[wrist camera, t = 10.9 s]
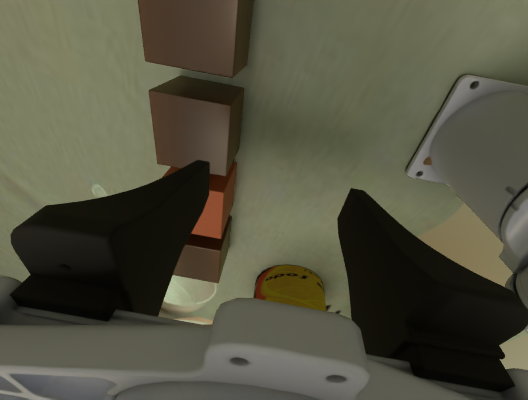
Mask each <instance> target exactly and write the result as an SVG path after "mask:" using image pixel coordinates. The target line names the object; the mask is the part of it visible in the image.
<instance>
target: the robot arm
mask: <svg viewBox="0 0 528 400" xmlns="http://www.w3.org/2000/svg"><path fill="white" fill-rule="evenodd" d="M474 81H475V82H476V83H475V85H474V86H473V87H471V88H470V84H471V83H472V82H474ZM429 156H430V158H431V161H432V165H424V164H423V162H424V160H425V159H426V158H427V157H429ZM419 171H421V172H420V173H419V174H416V173H417V172H419ZM406 174H407V175H408V177H411V178H416V179H421V180H427V181H432V182H437V183H443V184H448V186H449V187H450V188H451V189H452V190H453V191H454V192H455V193H456V194H457V195H458V196H459V197H460V198H461V199H462V200H463V201H464V202H465V203H466V205H467V206H468V207H469V208H470V209H471V210H472V211H473V212H474V213H475V214H476V215H477V216H478V217H479V218H480V219H481V220H482V221H483V222H484V223H485V224H486V226H487V227H488V228H489V229H490V230H491V231H492V232H493V233H494V234H495V235H496V236H497V237H498V238H499V239H500V240H501V241H502V242H503V244H504V247H503V251H502V253H501V254H500V255H499V257H500V259H501V260H502V261H503V262H504V263H505V264H506V265H507V267H508V268H509V269H510V270H511V271H512V272H513V273H514V274H512V275H511V276H510V278H509V279H508V280H507V282H506V284H505V287H503V286H501V285H499V284H497V283H495V282H493V281H491V280H488V279H486V278H484V277H482V276H480V275H478V274H476V273H474V272H472V271H470V270H468V269H467V268H465V267H463V266H461V265H459V264H457V263H455V262H454V261H452V260H450V259H449V258H447V257H446V256H444V255H442V254H441V253H439V252H437V251H436V250H434V249H433V248H431V247H430V246H428V245H427V244H425V243H424V242H423V241H421V240H420V239H418V238H417V237H416V236H414V235H413V234H412V233H410V232H409V231H408V230H407V229H405V228H404V227H403V226H402V225H401V224H400V223H398V222H397V221H396V220H395V219H394V218H393V217H392V216H390V215H389V214H388V213H387V212H386V211H385V210H384V209H383V208H382V207H381V206H380V205H379V204H378V203H377V202H376V201H375V200H374V199H373V198H371V197H370V196H369V195H368V194H367V193H366V192H365V191H363V190H359V189H353V188H351V189H350V192H349V194H348V196H347V198H346V201H345V203H344V205H343V207H342V210H341V212H340V214H339V216H338V234H339V240H340V245H341V249H342V254H343V258H344V262H345V267H346V271H347V277H348V283H349V293H350V304H351V317H352V320H351V319H350V318H347V317H345V316H342V315H339V314H336V313H333V312H327V311H322V310H316V309H311V308H305V307H300V306H294V305H288V304H283V303H277V302H272V301H266V300H261V299H255V298H236V299H233V300H230V301H227V302H224V303H222V304H221V305H220V307H219V308H218V310H217V311H216V313H215V317H214V321H213V324H212V325H201V324H195V323H189V322H184V321H178V320H173V319H167V318H162V317H158V315H159V312H160V309H161V306H162V303H163V300H164V297H165V294H166V292H167V289H168V286H169V283H170V281H171V278H172V275H173V273H174V270H175V267H176V265H177V262H178V260H179V258H180V255H181V253H182V250H183V248H184V246H185V244H186V242H187V240H188V238H189V236H190V235H191V233H192V231H193V229H194V227H195V225H196V224H197V222H198V220H199V218H200V216H201V214H202V212H203V210H204V208H205V205H206V203H207V200H208V197H209V181H210V162H208V161H202V160H196V161H194V162H192V163H190V164H188V165H187V166H185V167H183V168H181V169H179V170H177V171H175V172H173V173H172V174H169V175H167V176H165V177H163V178H161V179H159V180H157V181H154V182H152V183H149V184H147V185H144V186H141V187H139V188H136V189H133V190H129V191H126V192H122V193H118V194H115V195H111V196H106V197H102V198H97V199H91V200H86V201H79V202H72V203H64V204H56V205H46V206H45V207H43V208H42V209H41V210H39V211H38V212H37V213H35V214H34V215H33V216H31V217H30V218H28V219H27V220H26V221H24V222H23V223H22V224H20V225H19V226H18V227H16V228H15V229H14V230H13V231H12V233H11V244H12V246H13V248H14V250H15V252H16V253H17V255H18V256H19V258H20V259H21V261H22V262H23V264H24V265H25V267H26V268H27V270H28V271H29V273H30V274H31V275H30V276H29V277H28V278H27V279H26V280H25V281H24V282H23V283H22V282H20V281H19V280H17V279H14V278H11V277H7V276H1V275H0V400H528V370H523V369H514V368H513V369H505V368H504V366H503V364H502V363H501V361H500V359H503V358H505V354H504V353H503V352H502V350H501V348H500V346H499V345H500V344H502V343H504V342H505V341H507V340H509V339H510V338H512V337H513V336H515V335H517V334H518V333H520V332H521V331H522V330H524V329H525V330H526V331H527V332H528V86H526V85H520V84H515V83H510V82H505V81H500V80H494V79H489V78H484V77H479V76H473V75H464V76H462V77H461V78H459V80H458V81H457V82H456V84H455V86H454V88H453V89H452V91H451V93H450V95H449V96H448V98H447V100H446V102H445V103H444V105H443V107H442V109H441V110H440V112H439V114H438V116H437V117H436V119H435V121H434V122H433V124H432V126H431V128H430V129H429V131H428V133H427V135H426V136H425V138H424V140H423V142H422V143H421V145H420V147H419V149H418V150H417V152H416V154H415V156H414V157H413V159H412V161H411V163H410V164H409V166H408V168H407V170H406Z"/></svg>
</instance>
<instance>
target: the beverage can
mask: <svg viewBox="0 0 528 400" xmlns="http://www.w3.org/2000/svg"><path fill="white" fill-rule="evenodd" d="M253 298H255V299H261V300H266V301H272V302H277V303H283V304H288V305H294V306H300V307H305V308H311V309H316V310H322V311H326V304H325V295H324V287H323V282H322V280H321V279H320V278H319V276H318V275H316V274H315V273H314V272H312V271H310V270H308V269H306V268H303V267H299V266H294V265H280V266H275V267H271V268H268V269H267V270H265V271H263V272H262V273H261V274H260V275H259V276H258V277H257V280H256V283H255V290H254V296H253Z"/></svg>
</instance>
